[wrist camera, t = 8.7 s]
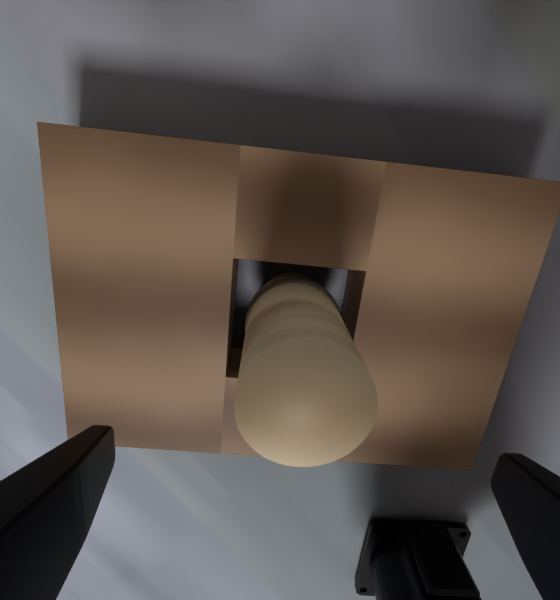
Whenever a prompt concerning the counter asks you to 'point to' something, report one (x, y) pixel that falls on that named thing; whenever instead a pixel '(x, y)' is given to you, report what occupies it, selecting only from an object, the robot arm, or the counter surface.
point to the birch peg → (301, 377)
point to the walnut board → (293, 250)
